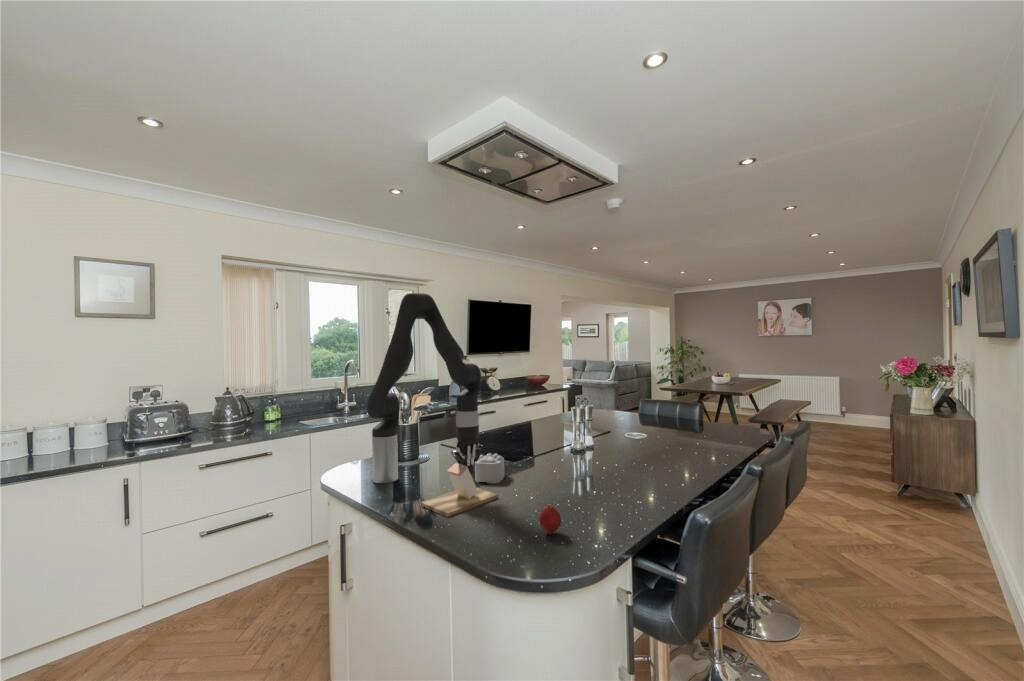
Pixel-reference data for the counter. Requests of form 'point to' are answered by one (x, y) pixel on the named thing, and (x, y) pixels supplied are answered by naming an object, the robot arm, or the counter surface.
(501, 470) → the paw stamp
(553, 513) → the red strawberry
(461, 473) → the block
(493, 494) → the board
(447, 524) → the counter surface
